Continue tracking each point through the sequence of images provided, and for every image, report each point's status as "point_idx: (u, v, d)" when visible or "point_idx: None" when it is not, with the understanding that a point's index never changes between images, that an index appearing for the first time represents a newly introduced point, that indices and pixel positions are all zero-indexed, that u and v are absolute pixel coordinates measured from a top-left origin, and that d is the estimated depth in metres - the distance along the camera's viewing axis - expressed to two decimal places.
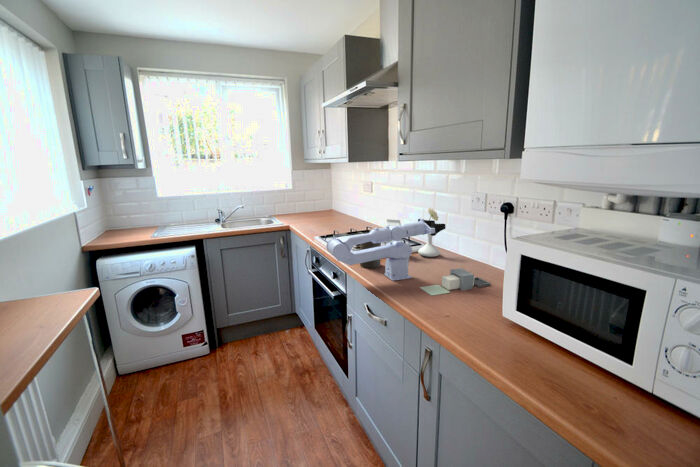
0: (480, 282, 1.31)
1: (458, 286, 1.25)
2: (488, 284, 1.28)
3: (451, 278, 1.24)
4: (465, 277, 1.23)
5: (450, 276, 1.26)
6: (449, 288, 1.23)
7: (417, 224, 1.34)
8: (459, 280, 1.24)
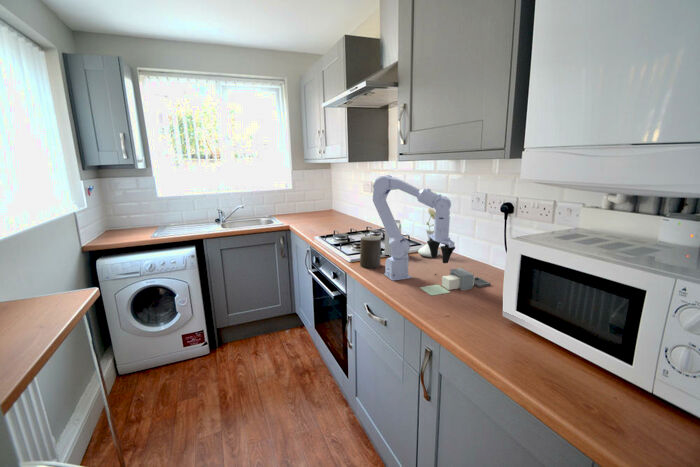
0: (480, 282, 1.31)
1: (458, 286, 1.25)
2: (488, 284, 1.28)
3: (451, 278, 1.24)
4: (465, 277, 1.23)
5: (450, 276, 1.26)
6: (449, 288, 1.23)
7: (448, 231, 1.26)
8: (459, 280, 1.24)
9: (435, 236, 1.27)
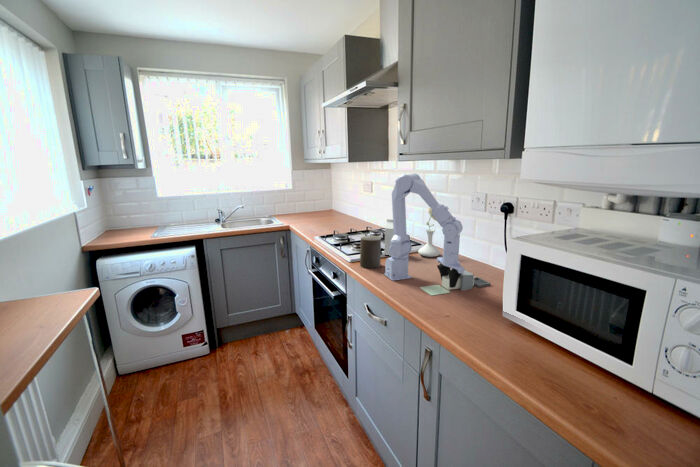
0: (480, 282, 1.31)
1: (458, 286, 1.25)
2: (488, 284, 1.28)
3: None
4: (465, 277, 1.23)
5: None
6: (449, 288, 1.23)
7: None
8: (459, 280, 1.24)
9: (444, 260, 1.22)
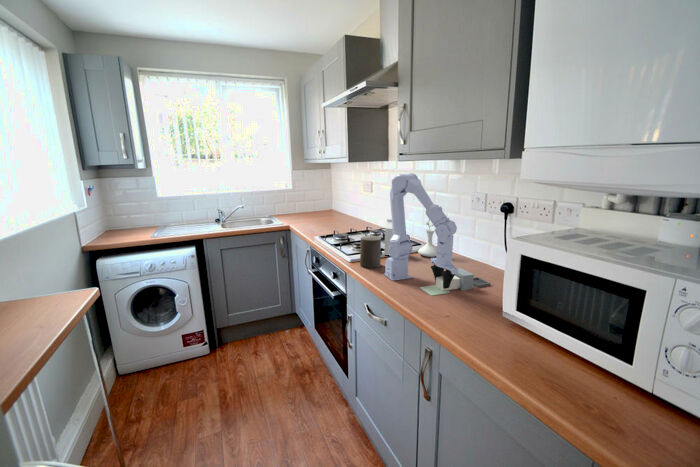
0: (480, 282, 1.31)
1: (452, 287, 1.24)
2: (488, 284, 1.28)
3: None
4: (465, 277, 1.23)
5: None
6: (442, 289, 1.22)
7: (451, 256, 1.21)
8: (453, 281, 1.23)
9: (437, 261, 1.21)
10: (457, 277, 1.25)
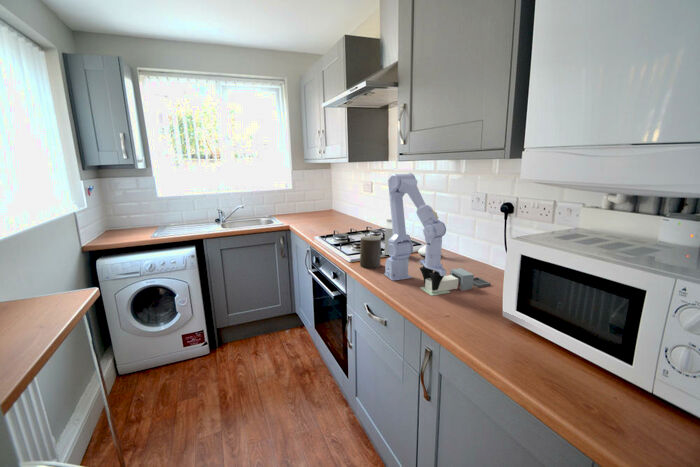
0: (480, 282, 1.31)
1: (441, 289, 1.22)
2: (488, 284, 1.28)
3: None
4: (465, 277, 1.23)
5: None
6: (431, 291, 1.21)
7: (440, 258, 1.19)
8: (442, 283, 1.21)
9: (426, 263, 1.19)
10: (447, 279, 1.24)
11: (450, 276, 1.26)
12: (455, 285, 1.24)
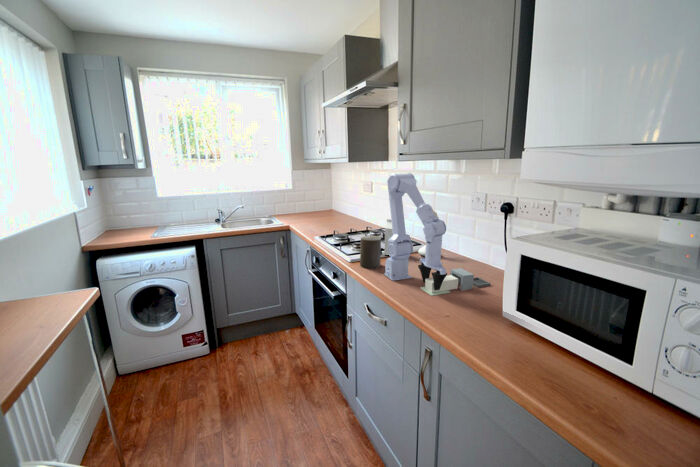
0: (480, 282, 1.31)
1: (441, 289, 1.22)
2: (488, 284, 1.28)
3: None
4: (465, 277, 1.23)
5: None
6: (431, 291, 1.21)
7: (440, 256, 1.19)
8: (442, 283, 1.21)
9: (426, 261, 1.19)
10: (447, 279, 1.24)
11: (450, 276, 1.26)
12: (455, 285, 1.24)
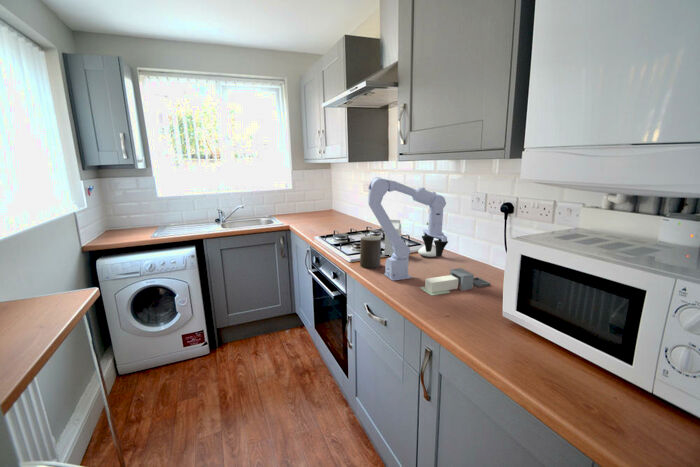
0: (480, 282, 1.31)
1: (441, 289, 1.22)
2: (488, 284, 1.28)
3: (434, 281, 1.22)
4: (465, 277, 1.23)
5: (434, 278, 1.24)
6: (431, 291, 1.21)
7: None
8: (442, 283, 1.21)
9: (429, 231, 1.34)
10: (447, 279, 1.24)
11: (450, 276, 1.26)
12: (455, 285, 1.24)
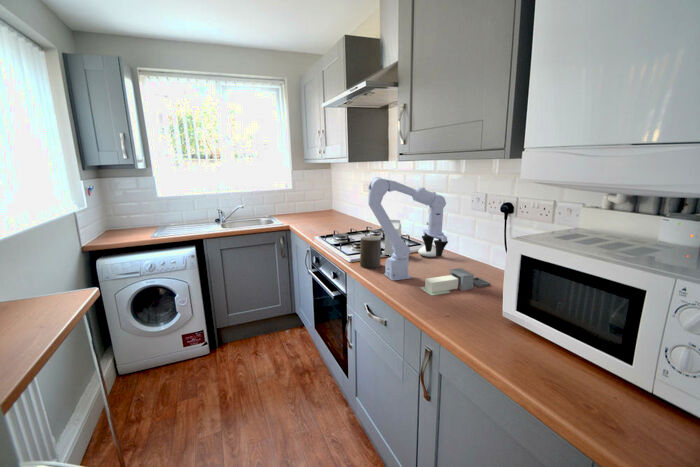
0: (480, 282, 1.31)
1: (441, 289, 1.22)
2: (488, 284, 1.28)
3: (434, 281, 1.22)
4: (465, 277, 1.23)
5: (434, 278, 1.24)
6: (431, 291, 1.21)
7: None
8: (442, 283, 1.21)
9: (429, 231, 1.34)
10: (447, 279, 1.24)
11: (450, 276, 1.26)
12: (455, 285, 1.24)
